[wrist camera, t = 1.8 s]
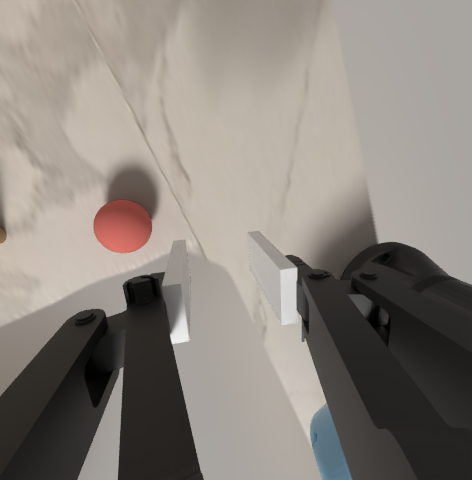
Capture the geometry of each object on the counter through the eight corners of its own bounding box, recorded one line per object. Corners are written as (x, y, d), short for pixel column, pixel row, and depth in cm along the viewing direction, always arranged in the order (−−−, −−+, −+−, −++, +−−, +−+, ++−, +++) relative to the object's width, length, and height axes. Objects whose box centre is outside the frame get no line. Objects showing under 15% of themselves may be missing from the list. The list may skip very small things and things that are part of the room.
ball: (161, 207, 31) (155, 216, 26) (146, 250, 33) (137, 267, 27) (112, 189, 30) (93, 194, 24) (98, 235, 31) (77, 250, 25)
